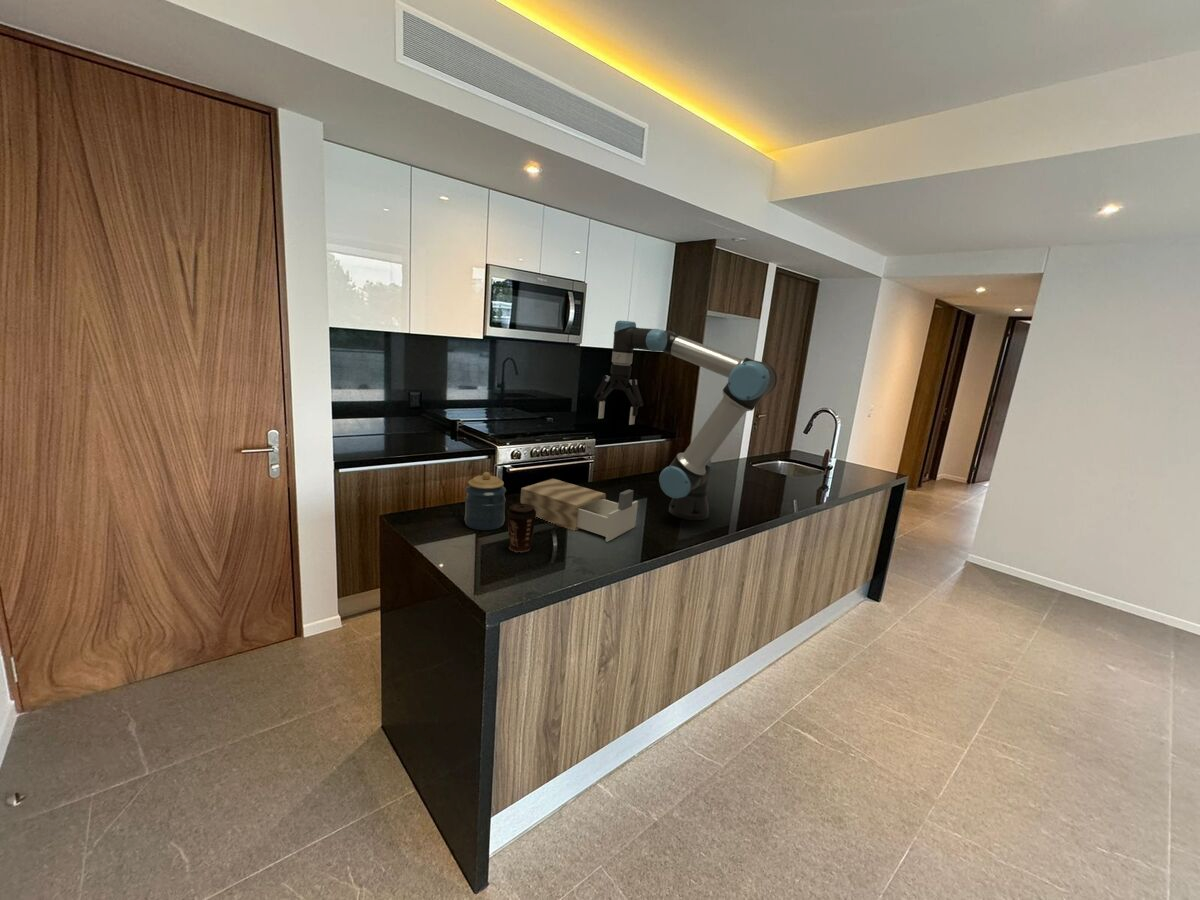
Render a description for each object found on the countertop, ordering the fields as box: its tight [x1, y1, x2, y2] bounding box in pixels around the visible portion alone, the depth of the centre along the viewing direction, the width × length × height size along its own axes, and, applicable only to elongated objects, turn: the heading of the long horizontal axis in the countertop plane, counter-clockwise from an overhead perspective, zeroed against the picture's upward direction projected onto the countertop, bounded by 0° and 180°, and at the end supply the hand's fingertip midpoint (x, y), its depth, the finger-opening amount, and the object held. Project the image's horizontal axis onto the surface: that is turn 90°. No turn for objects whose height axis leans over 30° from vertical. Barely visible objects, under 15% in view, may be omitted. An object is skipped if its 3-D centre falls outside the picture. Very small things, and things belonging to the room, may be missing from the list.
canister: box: [464, 471, 507, 531], centre depth 163 cm, size 13×13×18 cm
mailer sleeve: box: [519, 478, 607, 532], centre depth 178 cm, size 24×18×9 cm
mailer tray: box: [576, 489, 639, 543], centre depth 170 cm, size 25×18×15 cm
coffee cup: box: [506, 502, 537, 553], centre depth 148 cm, size 9×8×13 cm
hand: (615, 421), depth 188 cm, fingers open, 13 cm apart
